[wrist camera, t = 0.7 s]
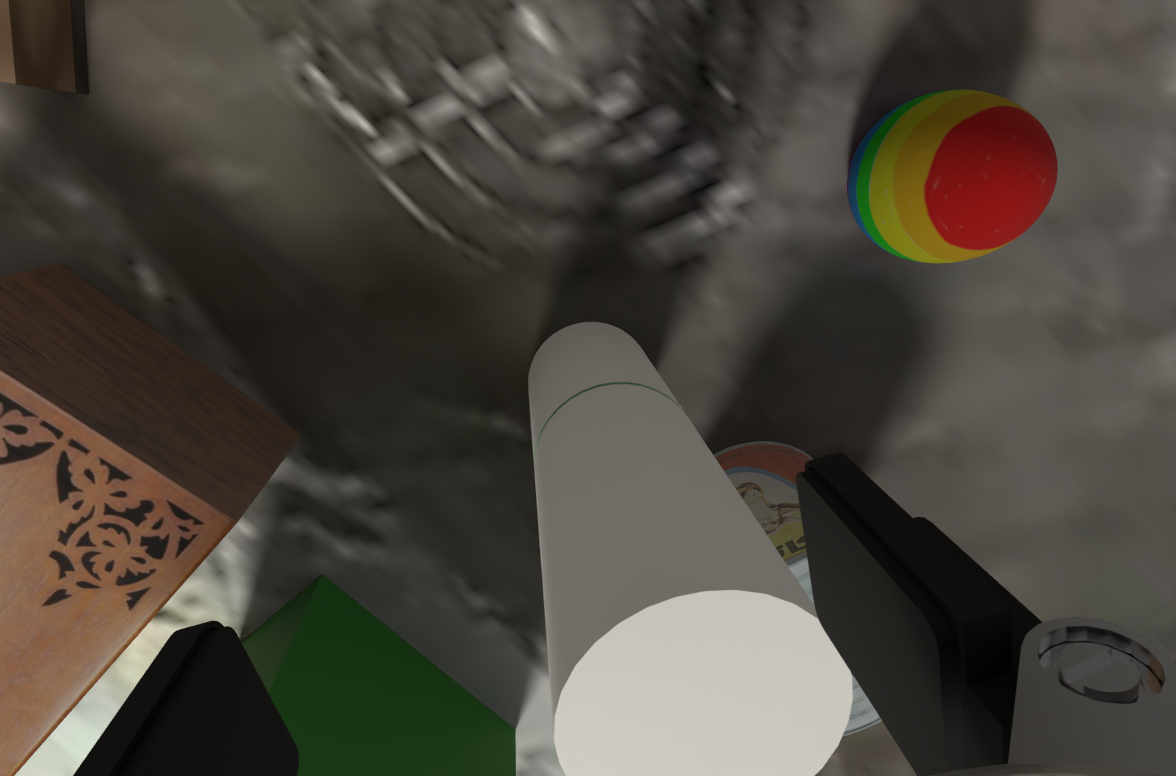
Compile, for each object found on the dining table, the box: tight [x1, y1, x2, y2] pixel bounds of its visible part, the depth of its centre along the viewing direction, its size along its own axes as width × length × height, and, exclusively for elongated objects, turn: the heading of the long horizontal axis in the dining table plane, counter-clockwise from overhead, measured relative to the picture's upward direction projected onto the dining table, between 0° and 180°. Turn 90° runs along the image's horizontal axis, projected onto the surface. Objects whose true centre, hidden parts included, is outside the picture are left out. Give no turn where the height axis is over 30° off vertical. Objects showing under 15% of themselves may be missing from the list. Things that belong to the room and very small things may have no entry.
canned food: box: [713, 441, 882, 736], centre depth 38 cm, size 11×11×12 cm
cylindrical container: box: [528, 322, 853, 776], centre depth 28 cm, size 7×7×25 cm
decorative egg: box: [847, 90, 1058, 263], centre depth 33 cm, size 8×8×10 cm
